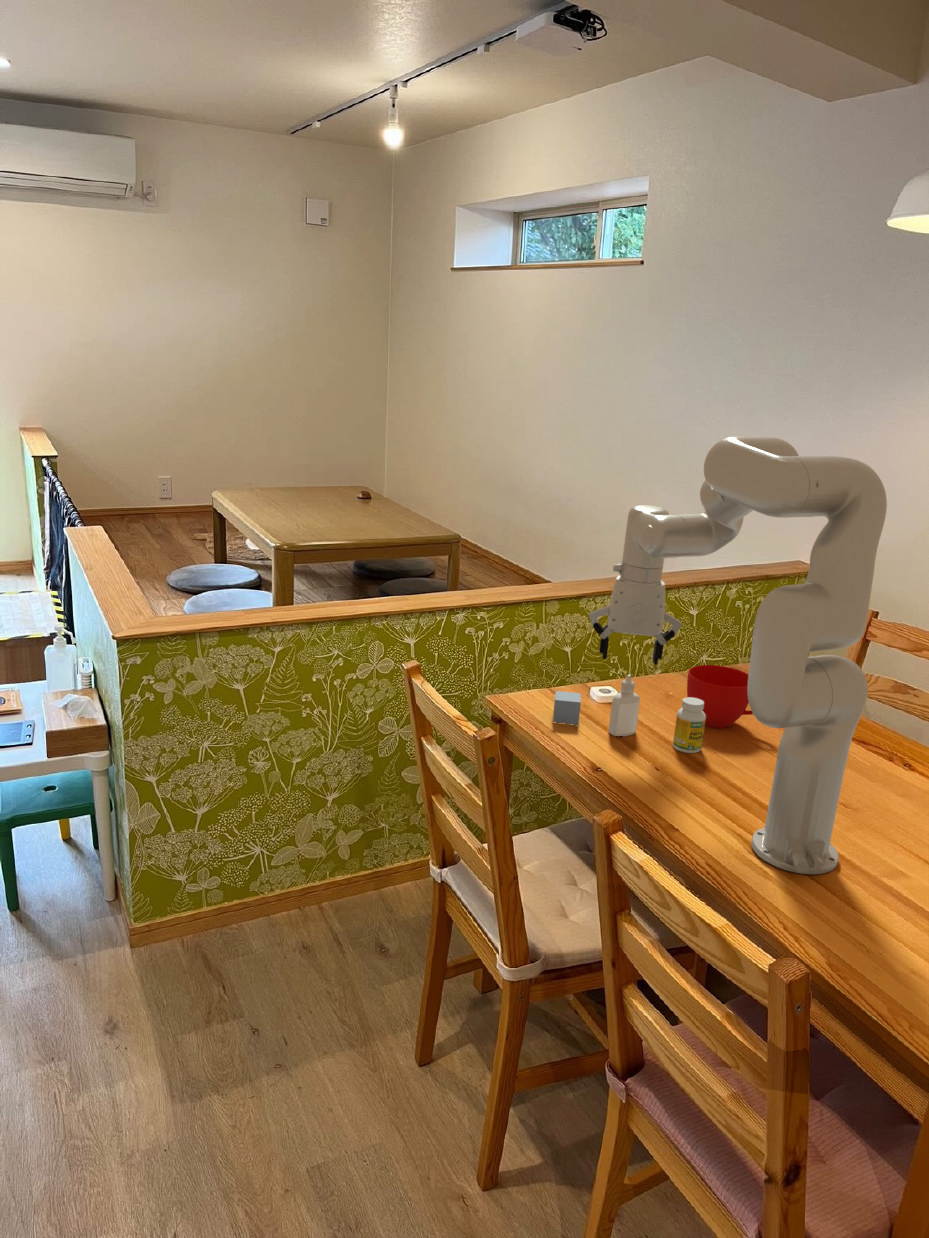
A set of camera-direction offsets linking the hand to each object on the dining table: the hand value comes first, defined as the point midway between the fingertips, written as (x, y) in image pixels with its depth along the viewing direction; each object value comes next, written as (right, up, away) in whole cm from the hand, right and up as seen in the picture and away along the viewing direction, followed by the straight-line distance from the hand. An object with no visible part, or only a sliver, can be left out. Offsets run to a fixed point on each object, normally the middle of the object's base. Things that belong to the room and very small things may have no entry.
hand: (629, 659), depth 181 cm
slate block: (-11, -12, +9) cm, 19 cm away
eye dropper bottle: (-1, -15, +4) cm, 15 cm away
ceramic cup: (+21, -14, +12) cm, 28 cm away
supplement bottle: (+11, -17, -1) cm, 20 cm away
